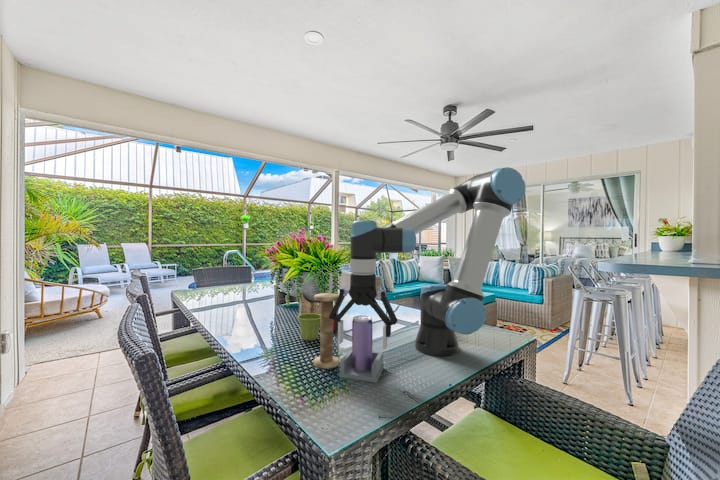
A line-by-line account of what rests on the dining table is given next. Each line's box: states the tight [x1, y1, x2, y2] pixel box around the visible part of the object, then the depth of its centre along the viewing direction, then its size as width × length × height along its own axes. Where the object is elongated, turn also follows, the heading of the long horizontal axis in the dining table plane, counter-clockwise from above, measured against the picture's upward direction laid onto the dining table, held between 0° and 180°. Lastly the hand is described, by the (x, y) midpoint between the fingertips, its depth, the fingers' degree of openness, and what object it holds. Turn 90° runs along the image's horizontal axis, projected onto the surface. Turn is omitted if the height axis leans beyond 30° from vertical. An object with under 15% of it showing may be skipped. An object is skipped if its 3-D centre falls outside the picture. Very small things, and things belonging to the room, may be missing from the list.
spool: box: [313, 292, 340, 370], centre depth 98 cm, size 8×8×22 cm
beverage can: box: [351, 315, 373, 372], centre depth 92 cm, size 6×6×15 cm
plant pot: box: [297, 313, 321, 341], centre depth 121 cm, size 9×9×9 cm
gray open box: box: [338, 348, 385, 383], centre depth 92 cm, size 11×10×5 cm
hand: (362, 345), depth 92 cm, fingers open, 13 cm apart
